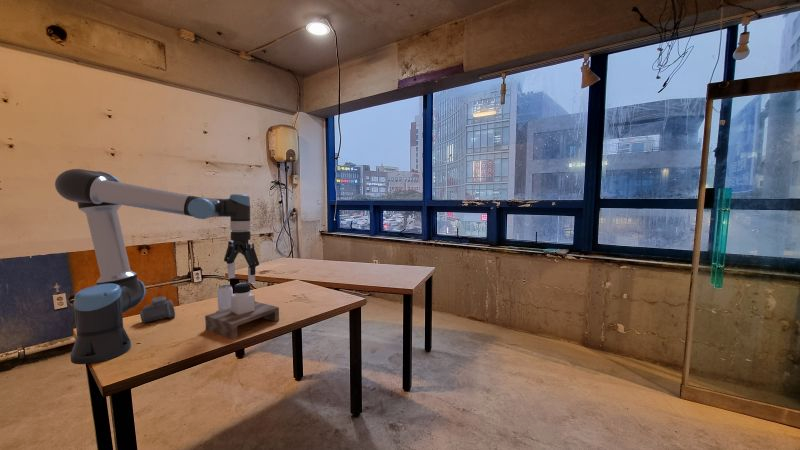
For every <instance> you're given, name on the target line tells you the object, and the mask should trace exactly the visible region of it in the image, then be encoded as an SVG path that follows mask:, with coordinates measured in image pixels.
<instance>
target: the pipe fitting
mask: <svg viewBox="0 0 800 450" xmlns="http://www.w3.org/2000/svg"><path fill="white" fill-rule="evenodd" d="M175 311H176V310H175V306H174V303H173V301H172V300H171V299H168V300H167V297H166V296H158V297H154V298H152V300H151V304H149V305H145V306H144V307H143V309H142V310H141V311H140V312H139V316H140V321H141V323H143V324H147V323H150V322H151V323H152V322H153V321H156V320H159V319H164V318H168V319H169V318H170V319H171V318H175V317H176V312H175Z"/></svg>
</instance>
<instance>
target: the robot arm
mask: <svg viewBox="0 0 800 450" xmlns="http://www.w3.org/2000/svg"><path fill="white" fill-rule="evenodd" d="M54 186H55V190H56V192H57V194H59V195H60V197H62V198H64V199H65V200H67V201H70V202H75V203H77V207H78V210H80V211H81V212H83V213H84V214H85V216H86V219H87V224H88V228H89V233H90V237H91V241H92V245H93V249H94V253H95V258H96V262H97V266H98V271H99V274H100V277H99V278H98V279H97V280H96V284H94V285H92V286H87V287H85V288H82V289H80V290H79V291H78V292H76V293H75V295H74V300H73V301H74V302H73V308H74V318H75V330H76V331H75V332H76V338H75V341H74V345H73V347H72V349H71V353H70V362H71V363H72V364H74V365H88V364H94V363H95V364H96V363H99V362H103V361H107V360H109V359H110V360H111V359H113V358H117V357H118V356H121V355H123V354H125V353H127V352H128V351H130V349H131V348H132V342H131V338H130V336H129V335H128V333H127V332H126V330H125V328H124V318H123V314H124V313H126V312H127V311H129V310H131V309H133V308H135V307H136V306H138V305H139V304H140V303H141V301H143V299H144V298H145V297H146V292H147V291H146V290H147V289H146V286H145V284H144V282H143V281H142V280H139V278H138V273H137V272H134V271H132V269H131V266H130V261H129V257H128V253H127V249H126V244H125V239H124V235H123V231H122V227H121V223H120V217H119V213H118V209H120V208H121V206H126V207H133V208H137V209H145V210H151V211H158V212H162V213H163V212H164V213H168V214H169V213H170V214H174V215H175V214H177V215H182V216H187V217H193V218H194V219H198V220H199V219H200V220H206V219H208V218H209V219H210V218H216V217H217V218H218V217H219V218H225V217H226V218H229V217H230V221H229V222H230V223H229V224H230V227H229V229H230V231H231V232H230V240H229V241H228V242H227V248H226V251H225V255H224V258H223V261H224V262H226V264H227V279H228V280H230V279H235V278H236V264H235V260H236V258H237V256H239V254H241V255H242V256H243V257H244V259H245V261H246V263H247V265H248V266H247V283H248V284H251V283H255V282H256V268H257V267H258V266H260V262H259V259H258V255H257V253H256V250H255V244H254V242H251V243H249V241H250V240H251V236H252V235H251V231H250V230H251V201H250V198H251V197H250V196H249V195H248V194H240V193H239V194H235V193H232V194H230V195H229V198H210V197H209V198H208V197H200V196H195V195H189V194H185V193H184V194H183V193H179V192H174V191H168V190H162V189H157V188H152V187H146V186H140V185H135V184H129V183H123V182H121V181H120V180H119V178H118V177H116V176H114V175H113V174H110V173H107V172H103V171H100V170H99V171H97V170H89V169H83V168H73V169H68V170H65V171H62V172H61V173H60V174H59V175H58V176H57V177H56V178H55V182H54Z"/></svg>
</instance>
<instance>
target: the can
mask: <svg viewBox="0 0 800 450" xmlns="http://www.w3.org/2000/svg"><path fill="white" fill-rule="evenodd" d="M216 293H217V312H219V311H222V310H225V309H228V308H231V295H234V293H233V287H232V285H231V284H225V285H220V286H218V288H217V292H216Z"/></svg>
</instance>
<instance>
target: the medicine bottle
mask: <svg viewBox="0 0 800 450" xmlns="http://www.w3.org/2000/svg"><path fill="white" fill-rule="evenodd" d="M233 288H234V294H233V295H231V311H232V312H234V313H235V314H237V315H241V314H245V313H248V312H252V311H255V302H256V301H255V300H256V299H255V295H254V294H253V293H251V283H248V282H240V283H237V284H235V285H234V287H233Z"/></svg>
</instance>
